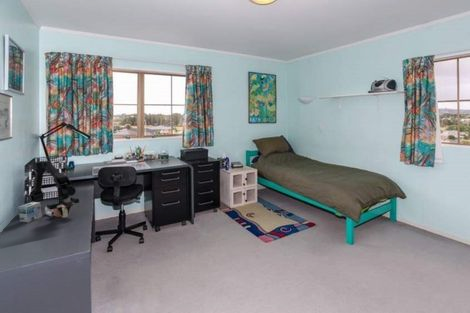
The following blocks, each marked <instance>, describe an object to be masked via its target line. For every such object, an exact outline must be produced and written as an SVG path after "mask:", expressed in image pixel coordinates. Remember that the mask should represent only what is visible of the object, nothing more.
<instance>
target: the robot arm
mask: <svg viewBox="0 0 470 313" xmlns="http://www.w3.org/2000/svg"><path fill="white" fill-rule="evenodd" d="M31 167H32V170H33V172H34V178H33V186H32V187H33V188H32V190H31V191H30V193H29V196H28V197H27V199H26V202H27V204H28V203H31V202H40V205H41V204H42V203H41V202H42V201H44V197H45V193H44V192H43V190H42V188H43V187H42V186H43V185H42V184H43V180H44V173H45V172H46V171H47V173H49V175H51V177H52V178H53V179H52V180H53V182H54V184H55V188H56V189H57V198H58V200H57V203H55V202H51V203H48V204H47V205H46V207H47V208H48V209H50V210H51V209H58V211H59V212H60V214H61V215H62V216H63V212H62V207H61V205H63V206H66V208H67V211H68V214H69V213H70V211H71V207H72V206H74V204H78V203H80V198H77V197H74V195H75V194H76V188H75V187H73V185H72V181H71V180H70V178H69V177H68V176H67V175H66V174H65V173H62V172H60V171H59V170H58V169H57V167H56V166H55V165H54V164H53V163H52V161H51V160H46V161H45V160H42V161H34V162H33V163H32V166H31ZM42 208H43V206H41V211H42ZM62 216H61V217H62Z"/></svg>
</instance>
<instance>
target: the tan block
mask: <svg viewBox="0 0 470 313" xmlns="http://www.w3.org/2000/svg"><path fill="white" fill-rule="evenodd" d="M52 213H54V209H51V210H50V209H48V208H47V206H45V207H44V214H45V215H47V216H49V217H51V216H53V214H52Z"/></svg>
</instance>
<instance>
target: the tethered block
mask: <svg viewBox="0 0 470 313" xmlns="http://www.w3.org/2000/svg"><path fill="white" fill-rule="evenodd" d="M61 207H62V212H63V216H62V215H61V214H60V212H59V211H58V209H54V212H53V216H55V217H56V218H59V217H61V218H63V219H65V218H68V217H69V213H68V211H67V208H66V206H64V205H61Z"/></svg>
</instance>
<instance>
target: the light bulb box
mask: <svg viewBox="0 0 470 313" xmlns="http://www.w3.org/2000/svg"><path fill="white" fill-rule="evenodd" d="M40 204H41V201H40V202H31V203H28V202H27V203H25V204H22V205H19V206H18V214H19V221H20V222H21V223H22V222H23V223H30V222H32V221H34V220H35V221H36V220H38V219H40V218H43V216H42V210H41V207H42V206H41V205H40Z"/></svg>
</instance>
